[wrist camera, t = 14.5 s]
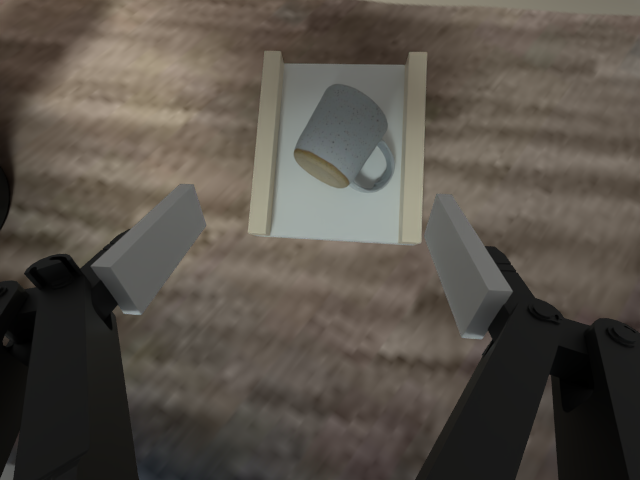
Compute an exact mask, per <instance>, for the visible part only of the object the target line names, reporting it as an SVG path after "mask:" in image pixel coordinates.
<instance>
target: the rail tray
mask: <svg viewBox="0 0 640 480" xmlns="http://www.w3.org/2000/svg"><path fill="white" fill-rule="evenodd" d="M426 71H427V52H409V54H408V57H407V60H406V63H405V65H378V64H288V63H284V60H283V57H282V53H281V51H264V62H263V73H262V84H261V95H260V106H259V117H258V128H257V139H256V150H255V161H254V172H253V183H252V194H251V205H250V216H249V227H248V233H250V234H252V235H255V236H264V237H281V238H298V239H315V240H332V241H349V242H366V243H383V244H399V245H416V244H419V243H421V232H422V200H423V168H424V136H425V103H426ZM334 84H343V85H347V86H350V87H353V88H356V89H357V90H359V91H361V92H363V93H364V94H365V95H367V96H368V97H370V98H371V99H372V100H373V101H374V102H375V103H376V104H377V105H378V106H379V107H380V109H381V110H382V111H383V113H384V115H385V117H386V119H387V123H388V127H387V131H386V133H385V134H384V136H383V137H382V139H383V140H384V141H385V143H386V144H387V145H388V147H389V148H390V150H391V152H392V154H393V157H394V162H395V170H394V174H393V176H392V178H391V180H390V181H389V183H388V184H387V185H386V186H385V187H384V188H383V189H381V190H379V191H377V192H373V193H363V192H359V191H357V190H354V189H353V188H351V187H350V186H349V185H348V186H347V187H345V188H335V187H332V186H329V185H327V184H325V183H323V182H321V181H320V180H318V179H316V178H315V177H313V176H312V175H310V174H309V173H308V172H306V171H305V170H304V169H303V168H301V167H300V166H299V165H298V163H297V162H296V160H295V158H294V149H295V146H296V144H297V141H298V139H299V137H300V135H301V134H302V132H303V130H304V129H305V127H306V125H307V123H308V121H309V119H310V118H311V116H312V114H313V112H314V111H315V109H316V107H317V105H318V103H319V102H320V100H321V98H322V96H323V94H324V92H325V90H326V89H327V88H328V87H329V86H331V85H334ZM386 167H387V165H386V159H385V157H384V155H383V153H382V151H381V150H380V148H379V147H378V146H376V148H375V149H374V151H373V152H372V154H371V155H370V156H369V158H368V159H367V161H366V162H365V164H364V165H363V167H362V169H361V170H360V172H359V174H358V175H357V176H356V178H355V179H354V182H355V183H356V184H358V185H359V186H361V187H364V188H370V189H371V188H373V186H374V184H375V183H377V182H378V181H379V180H380V178H381V177H382V176H383V174H384V173H385V171H386Z"/></svg>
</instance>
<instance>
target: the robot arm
mask: <svg viewBox="0 0 640 480" xmlns="http://www.w3.org/2000/svg"><path fill="white" fill-rule="evenodd" d="M8 203H9V189H8V183H7V180H6V177H5V175H4V173H3V171H2V169H1V168H0V227H1V225H2V223H3V221H4V219H5V216H6V213H7V209H8ZM205 227H206V223H205V219H204V216H203V213H202V210H201V207H200V203H199V200H198V197H197V194H196V191H195V188H194V184H180V185H178V186H177V187H176V188H175V189H174V190H173V191H172V192H171V193H170V194H169V195H168V196H166V197H165V198H164V199H163V200H162V201H161V202H160V203H159V204H158V205H157V206H156V207H154V208H153V209H152V210H151V211H150V212H149V213H148V214H147V215H146V216H145V217H143V218H142V219H141V220H140V221H139V222H138V223H137V224H136V225H135V226H134V227H133V228H131V229H128V230H127V231H125V232H123V233H121V234H119V235H118V236H116V237H115V238H114V239H113V240H112V241H111V242H110V244H107V245H106V246H105V247H104V248H103V250H101V251H100V252H99V253H97V254H96V255H95V256H94V257H93V258H92V259H91V260H90V261H88V262H87V263H86V264H85V265H84V266H83V267H82V268H81V269H80V268H79V267H78V266H77V264H76V263H75V262H74V260H73V259H72V258H71V256H70V255H67V254H57V255H52V256H49V257H46V258H43V259H41V260H39V261H37V262H35V263H34V264H32V265H31V266H30V267H29V268H27V270H26V271H25V273H24V274H25V275H26V276H27V277H28V278H29V280H30V281H31V282H32V283H33V284H34V285H35V286H36V287H35V288H29V289H24V288H23V287H22V286H21V285H20V284H19V283H18V282H17V281H3V282H0V477H1V475H2V472H3V470H4V467H5V465H6V463H7V460H8V458H9V455H10V453H11V450H12V448H13V446H14V443H15V441H16V438H17V436H18V433H19V431H20V434H19V442H18V449H17V456H16V463H15V471H14V478H13V480H139V477H138V472H137V465H136V458H135V451H134V443H133V436H132V429H131V422H130V415H129V408H128V401H127V394H126V387H125V380H124V373H123V365H122V358H121V351H120V344H119V337H118V330H117V323H116V317H115V315H114V313H113V312H112V311H113V310H114V308H115V307H116V306H117V305H118V306H119V307H120V308H121V310H122V311H123V313H124V314H136V315H142V313H143V312H144V311H145V309H146V308H147V307H148V305H149V304H150V302H151V301H152V300H153V298H154V297H155V296H156V294H157V293H158V291H159V290H160V289H161V287H162V286H163V285H164V283H165V282H166V280H167V279H168V278H169V276H170V275H171V273H172V272H173V271H174V269H175V268H176V267H177V265H178V264H179V262H180V261H181V260H182V258H183V257H184V256H185V254H186V253H187V251H188V250H189V249H190V247H191V246H192V245H193V243H194V242H195V240H196V239H197V238H198V236H199V235H200V234H201V232H202V231H203V229H204V228H205ZM424 237H425V240H426V243H427V246H428V248H429V251H430V254H431V256H432V259H433V262H434V264H435V267H436V270H437V272H438V275H439V278H440V281H441V283H442V286H443V289H444V291H445V294H446V297H447V299H448V302H449V305H450V308H451V310H452V313H453V316H454V318H455V321H456V324H457V326H458V329H459V332H460V334H461V337H462V338H473V339H482V338H483V337H484V335H485V334H486V332H487V331H489V333H490V335H491V337H492V341H491V342H490V344H489V345H488V347H487V348H486V349H485V351H484V352H483V354H482V355H483V356H482V358H481V360H480V362H479V364H478V366H477V367H476V369H475V371H474V373H473V375H472V377H471V378H470V380H469V382H468V384H467V386H466V388H465V389H464V391H463V393H462V395H461V397H460V399H459V400H458V402H457V404H456V406H455V408H454V410H453V411H452V413H451V415H450V417H449V419H448V421H447V422H446V424H445V426H444V428H443V430H442V432H441V433H440V435H439V437H438V439H437V441H436V443H435V444H434V446H433V448H432V450H431V452H430V453H429V455H428V457H427V459H426V461H425V463H424V464H423V466H422V468H421V470H420V472H419V474H418V475H417V477H416V479H415V480H515V478H516V475H517V472H518V469H519V466H520V463H521V460H522V457H523V453H524V450H525V447H526V444H527V441H528V438H529V435H530V432H531V429H532V426H533V422H534V419H535V416H536V413H537V410H538V407H539V404H540V401H541V398H542V395H543V392H544V388H545V385H546V382H547V379H548V376H549V374H550V375H551V381H552V395H553V409H554V423H555V437H556V451H557V465H558V479H559V480H640V333H639V332H638V331H636V330H635V329H633V328H631V327H630V326H628V325H626V324H624V323H621V322H619V321H617V320H613V319H608V318H599V319H598V320H596V321H595V322H594V323H593V324H592V325H591V326H589V325H586V324H582V323H579V322H575V321H572V320H569V319H565V318H564V317H563V316H562V314H561V313H560V312H559V311H558V310H557V309H556V308H555V307H554V306H552V305H550V304H549V303H547V302H545V301H542V300H540V299H537V298H535V297H534V296H533V294H532V293H531V291H530V290H529V289H528V287H527V286H526V284H525V283H524V281H523V280H522V279H521V277H520V276H519V274H518V273H516V270H515V269H514V267H513V266H512V265H511V263H510V261H509V260H508V259H507V257H506V256H505V254H503V253H502V252H501V251H499V250H498V249H497V248H495V247H491V246H484V245H483V243H482V242H481V240H480V239H479V237H478V235H477V234H476V232H475V231H474V229H473V227H472V226H471V224H470V223H469V221H468V220H467V218H466V216H465V215H464V213H463V212H462V210H461V209H460V207H459V205H458V204H457V202H456V201H455V199H454V197H453V196H452V194H436V197H435V200H434V204H433V207H432V211H431V214H430V217H429V221H428V224H427V227H426V231H425V234H424ZM4 336H6V337H7V338H8V339H9V342H8V344H7V345H6V346H3V342H2V341H3V338H4Z"/></svg>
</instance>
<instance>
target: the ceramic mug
mask: <svg viewBox="0 0 640 480" xmlns="http://www.w3.org/2000/svg"><path fill="white" fill-rule="evenodd" d="M387 127H388V123H387V119H386V117H385V115H384V113H383V111H382V110H381V109H380V107H379V106H378V105H377V104H376V103H375V102H374V101H373V100H372V99H371V98H370V97H368V96H367V95H365V94H364V93H363V92H361V91H359V90H357V89H356V88H353V87H350V86H347V85H343V84H334V85H331V86H329V87H328V88H327V89H326V90H325V92H324V94H323V96H322V98H321V100H320V102H319V103H318V105H317V107H316V109H315V111H314V112H313V114H312V116H311V118H310V119H309V121H308V123H307V125H306V127H305V129H304V130H303V132H302V134H301V135H300V137H299V139H298V141H297V144H296V146H295V149H294V158H295V160H296V162H297V163H298V165H299V166H300V167H301V168H303V169H304V170H305V171H306V172H308V173H309V174H310V175H312V176H313V177H315V178H316V179H318V180H320V181H321V182H323V183H325V184H327V185H329V186H332V187H335V188H345V187H347V186H348V185H349V186H350V187H351V188H353V189H354V190H357V191H359V192H363V193H373V192H377V191H379V190H381V189H383V188H384V187H385V186H386V185H387V184H388V183H389V181H390V180H391V178H392V176H393V174H394V170H395V162H394V157H393V154H392V152H391V150H390V148H389V147H388V145H387V144H386V143H385V141H384V140H383V139H382V137H383V136H384V134H385V133H386V131H387ZM376 146H378V147H379V148H380V150H381V151H382V153H383V155H384V157H385V159H386V165H387V167H386V171H385V173H384V174H383V176H382V177H381V178H380V180H379V181H378V182H377V183H375V184H374V186H373V188H371V189H370V188H364V187H361V186H359V185H358V184H356V183H355V182H354V179H355V178H356V176H357V175H358V174H359V172H360V170H361V169H362V167H363V165H364V164H365V162H366V161H367V159H368V158H369V156H370V155H371V154H372V152H373V151H374V149H375V148H376Z"/></svg>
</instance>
